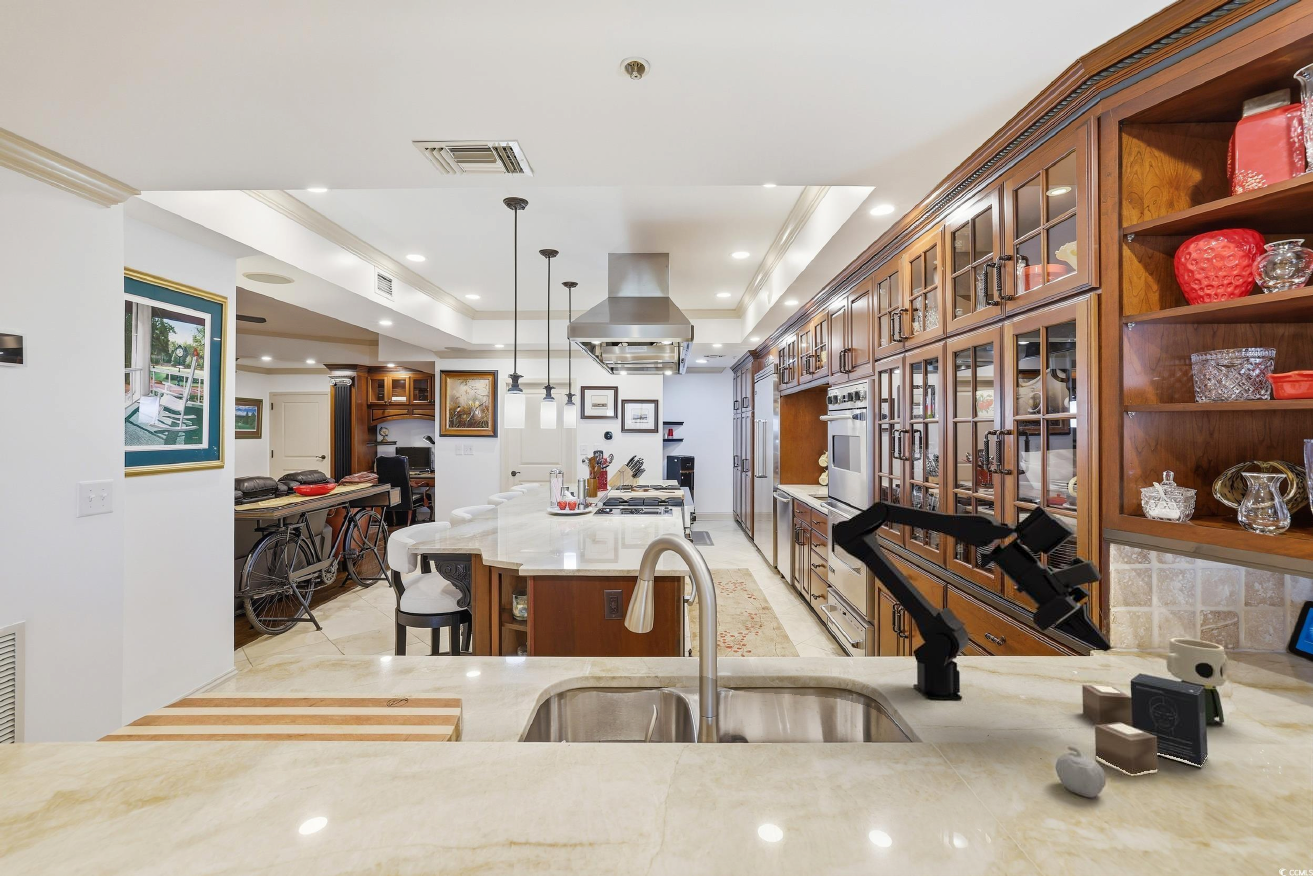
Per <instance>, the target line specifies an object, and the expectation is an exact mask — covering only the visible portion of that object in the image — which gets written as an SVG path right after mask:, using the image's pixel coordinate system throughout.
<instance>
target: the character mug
mask: <svg viewBox="0 0 1313 876" xmlns="http://www.w3.org/2000/svg"><path fill="white" fill-rule="evenodd" d="M1168 642H1169V653H1167V654H1166V670H1167V672H1168V673H1170V674H1171V675H1172V676H1173V677H1174V678H1177V679H1179V680H1180V682H1184V683H1189V684H1194V685H1199V686H1203V687H1204V693H1205V712H1206V724H1215V723H1216V721H1215V719H1216V718H1218V721H1219V724H1223V723H1225V718H1224V717H1225V716H1224V712H1223V706H1222V703H1221V702H1222V701H1221V698H1220V693H1219V691H1218V690H1217V687H1222V686H1224V684H1225V683H1226V682H1227V674H1226V673H1227V672H1228V657H1227V655H1226V653H1225V648H1224V646H1222V645H1220V644H1216V643H1214V642H1209V641H1204V640H1200V639H1199V640H1198V639H1194V638H1193V639H1192V638H1184V637H1183V638H1182V637H1181V638H1180V637H1178V638H1177V637H1174V638H1170V639H1169V641H1168Z"/></svg>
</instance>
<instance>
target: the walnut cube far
mask: <svg viewBox="0 0 1313 876" xmlns="http://www.w3.org/2000/svg"><path fill="white" fill-rule="evenodd" d="M1081 686H1082V688H1081V689H1082V690H1081V691H1082V714H1083V715H1084V716H1086V717H1087V718H1089V719H1090V720H1091V721H1093V722H1094V723H1096V725H1101V724H1109V723H1117V722H1121V723H1124V724H1126V725H1129V726H1131V727H1132V705H1131V695H1128V694H1126V693H1124V692H1123V691H1121V690H1119V689H1117V688H1116V687H1115V686H1103V685H1089V684H1082V685H1081Z"/></svg>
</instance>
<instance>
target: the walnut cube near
mask: <svg viewBox="0 0 1313 876" xmlns="http://www.w3.org/2000/svg"><path fill="white" fill-rule="evenodd" d="M1094 735H1095V736H1094V738H1095V741H1094V742H1095V757H1096V756H1098V757H1099V758H1101V759H1103V760H1105V761H1106V762H1108V763H1110V764H1112V765H1114V766H1116V767H1119V768H1120V769H1122V770H1125V771H1126V772H1128V773H1130V774H1137V773H1141V772H1144V771H1150V770H1156V769H1158V770H1159V768H1158V766H1159V764H1158V762H1159V761H1158V760H1159V759H1158V756H1157V737H1156V736H1154V735H1151V734H1149V733H1146V732H1144V731H1141V730H1139V729H1136V728H1134V727H1131V726H1129V725H1126V724H1124V723H1121V722H1117V723H1109V724H1101V725H1099V724H1095V725H1094Z"/></svg>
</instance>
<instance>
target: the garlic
mask: <svg viewBox="0 0 1313 876" xmlns="http://www.w3.org/2000/svg"><path fill="white" fill-rule="evenodd" d="M1067 749H1068V750H1069V751H1071V753H1070V752H1069V753H1065V754H1062V755H1061V756H1059V757H1058V758H1057V760H1056V762H1055V772H1056V776H1057V777H1058V779H1059V781H1060V782H1061V784H1062V785H1063V786H1064V787H1065V788H1067V790H1069V791H1071V792H1072V793H1075V794H1076V795H1080V796H1083V797H1086V798H1095V796H1097V795H1099V794H1100V793H1101V792H1102V791H1103V789H1104V788H1105V787H1106V781H1107V779H1106V773H1105V771H1104V769H1103V768H1102V766H1101V765H1099V763H1098V762H1097V760H1096V759H1094V758H1091V757H1088V756H1086V755H1082V752H1081V751H1080V749H1079V748H1077V747H1075V746H1071V745H1069V746H1067ZM1074 752H1075V753H1074Z"/></svg>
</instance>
